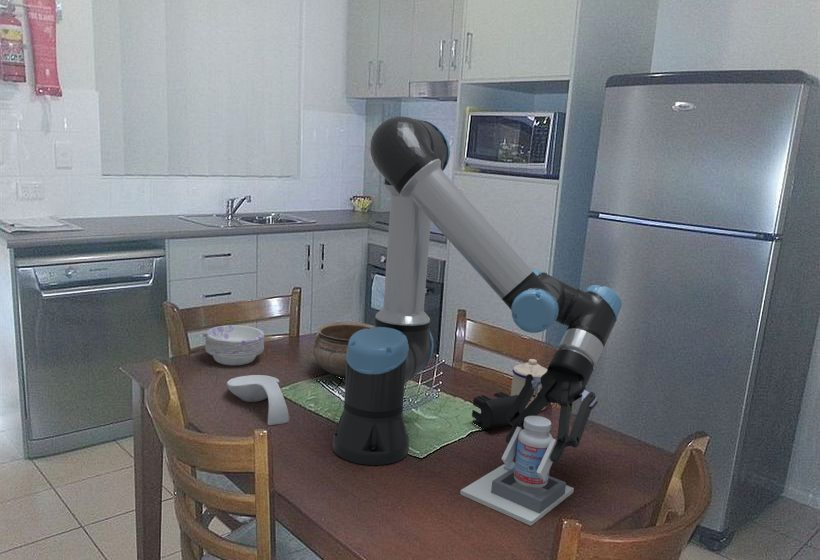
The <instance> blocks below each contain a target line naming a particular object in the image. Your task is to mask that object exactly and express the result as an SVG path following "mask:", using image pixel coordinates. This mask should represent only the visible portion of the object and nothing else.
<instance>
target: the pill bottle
mask: <svg viewBox="0 0 820 560" xmlns="http://www.w3.org/2000/svg"><path fill="white" fill-rule="evenodd" d="M523 425H524V428H525V429H523V430H521V431H520V433H519V435H518V443H517V451H516V455H515V469H514V478H515V480H516V481H517V482H518V483H519V484H521V485H523V486H526V487H531V488H540V487H543V486H545V485H546V484H547V482H548V477H549V476H550V471H551V468H550V469H549V472H548V474H547V476H546V478H545V480H542V479H540V477H539V476H538V474H537V469H538V467H539V465H540V463H541V461H542V459H543V457H544V454H545V452H546V450H547V448H548V446H549V444H550V442H551V439H554V438H553V435H552V434H551V433H550V432H551V429H552V421H551V420H550V419H549V418H546V417H544V416H541V415H537V416H527V417H525V419H524V424H523Z"/></svg>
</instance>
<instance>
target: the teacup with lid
mask: <svg viewBox="0 0 820 560" xmlns="http://www.w3.org/2000/svg"><path fill="white" fill-rule="evenodd" d="M547 370H548V368H546V367H545V366H542V365H541V364H539V363H538V361H537V359H534V358H530V359H528V362H524V363H520V364H516V365H514V366H513V368H512V381H511V389H510V391H511V392H510V396H514V395H519V393H520V392H521V390H522V388H523V387H524V385H525V380H526V376H527V375H528V374H531V375H532V376H533V377H541V376H542V375H543V374H545V373H546V372H547ZM541 389H542V385H541V384H540V385H539V386H538V388H537V389H536V390H534V393H533V395H532V397H531V399H530V401H529V402H528V404H527V406H528V405H529V404H530V403H531V402H532V401H533V400H534V399H535V398H536V397H537V394H538V392H539V391H540V390H541ZM527 406H526V407H527ZM526 407H525V409H526ZM546 408H547V406H545V407H544V408H543V409H542V410H541V411H544V410H545V409H546ZM541 411H540V412H541Z"/></svg>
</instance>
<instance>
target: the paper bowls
mask: <svg viewBox="0 0 820 560" xmlns="http://www.w3.org/2000/svg"><path fill="white" fill-rule="evenodd" d="M204 343H205V352H206V353H207V354H209V355H211V356H212V357H213V359H214V361H215V362H217V363H219V364H221V365H224V366H244V365H247V364H249V363H252V362H254V360H255V359H256V357H257V356H259V355H260V354H262V353H263V352H264V349H265V348H264V347H265V333H264V331H262V330H261V329H259V328H256V327H254V326H253V327H252V326H249V325H238V324H233V325H221V326H219V325H218V326H216V327H215V326H214V327H212V328H209V329H208V330H206V333H205V342H204Z"/></svg>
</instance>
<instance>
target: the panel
mask: <svg viewBox="0 0 820 560" xmlns="http://www.w3.org/2000/svg"><path fill="white" fill-rule="evenodd" d="M514 469H515V462H514V461H512V463H511V465H510V467H509V466H506V465H505V463H504V464H501V465H500V466H498V467H497V468H495V469H493V470H492V471H490V472H488V473H487V474H485V475H484V476H482V477H480V478H478V479H477V480H475V481H473V482H472V483H470V484H469V485H467V486H465V487H463V488H462V489H460V495H461V496H463V497H465V498H467V499H469V500H472V501H474V502H477V503H479V504H481V505H482V506H483V505H484V506H485V507H488V508H490V509H493V510H494V511H497V512H499V513H501V514H503V515H506V516H508V517H510V518H512V519H515V520H517V521H518V522H521V523H523V524H526V525H528V526H530V527H532V526H533V525H534V524H535V523H537V522H538V521H539V520H541V519H542V518H543V517H544V516H545V515H546V514H548V513H549V512H551V511H552V510H553V509H554V508H556V507H557V506H558V505H559V504H561V503H562V502H563V501H564V500H566V499H567V498H568V497H569V496H571V495H572V494H573V493H574V491H575V490H574V489H575V488H574V487H571V486H569V485H567V482H566V481H563V480H560V479H558V478H555V477H553V476H551V475H549V477H548V482H547V484H546V485H545V486H543V487H540V488H531V487H526V486H523V485H521V484H519V483H518V482H517V481H516V480H515V478H514Z"/></svg>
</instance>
